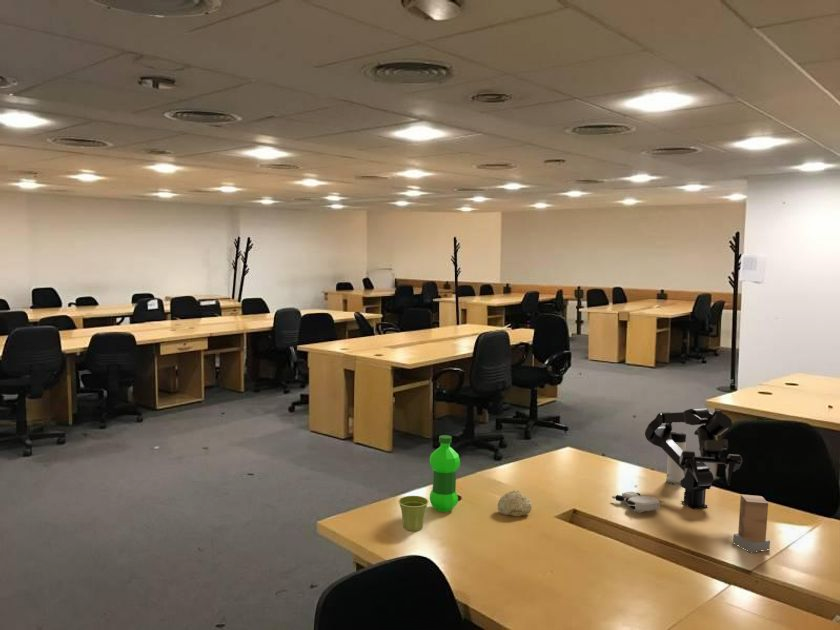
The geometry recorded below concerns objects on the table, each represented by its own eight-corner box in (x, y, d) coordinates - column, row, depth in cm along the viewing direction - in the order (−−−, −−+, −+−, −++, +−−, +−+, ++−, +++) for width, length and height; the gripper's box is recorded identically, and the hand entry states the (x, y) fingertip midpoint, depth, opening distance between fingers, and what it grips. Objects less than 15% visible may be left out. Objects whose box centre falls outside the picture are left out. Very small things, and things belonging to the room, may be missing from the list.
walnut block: (738, 532, 205) (740, 494, 204) (759, 534, 204) (761, 496, 203) (743, 540, 200) (746, 501, 198) (765, 542, 198) (768, 503, 197)
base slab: (750, 540, 207) (751, 531, 206) (769, 550, 200) (770, 540, 200) (733, 543, 204) (733, 534, 204) (751, 553, 198) (751, 543, 197)
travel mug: (665, 483, 258) (667, 432, 257) (667, 478, 264) (670, 429, 262) (682, 486, 255) (685, 435, 254) (684, 481, 261) (687, 431, 259)
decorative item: (518, 511, 216) (497, 491, 222) (511, 530, 220) (490, 510, 226) (542, 498, 223) (521, 479, 230) (535, 517, 227) (514, 498, 234)
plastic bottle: (463, 512, 224) (466, 439, 222) (434, 516, 220) (436, 442, 218) (451, 501, 233) (453, 431, 231) (423, 505, 230) (425, 434, 227)
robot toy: (609, 504, 237) (636, 517, 223) (609, 491, 237) (636, 503, 223) (637, 501, 242) (666, 513, 227) (637, 488, 241) (666, 500, 227)
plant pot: (424, 535, 205) (425, 507, 204) (394, 531, 207) (395, 504, 206) (430, 523, 214) (431, 497, 213) (401, 520, 216) (402, 494, 215)
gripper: (683, 427, 224) (688, 469, 214) (742, 431, 220) (750, 474, 210) (677, 444, 232) (681, 485, 222) (734, 448, 228) (741, 490, 219)
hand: (713, 483), depth 218 cm, fingers open, 9 cm apart
